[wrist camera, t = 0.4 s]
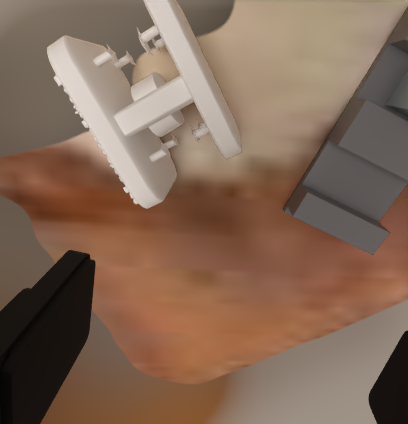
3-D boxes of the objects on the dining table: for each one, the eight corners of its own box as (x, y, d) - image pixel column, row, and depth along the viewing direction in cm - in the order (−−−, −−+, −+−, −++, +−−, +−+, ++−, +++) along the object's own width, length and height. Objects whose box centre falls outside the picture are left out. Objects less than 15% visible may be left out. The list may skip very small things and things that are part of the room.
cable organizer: (244, 140, 36) (250, 164, 25) (163, 180, 38) (137, 219, 28) (179, 1, 32) (151, -42, 21) (92, 57, 34) (27, 45, 23)
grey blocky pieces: (410, 2, 30) (435, -9, 26) (498, 53, 31) (535, 49, 27) (283, 209, 39) (288, 222, 35) (355, 243, 39) (368, 260, 36)
